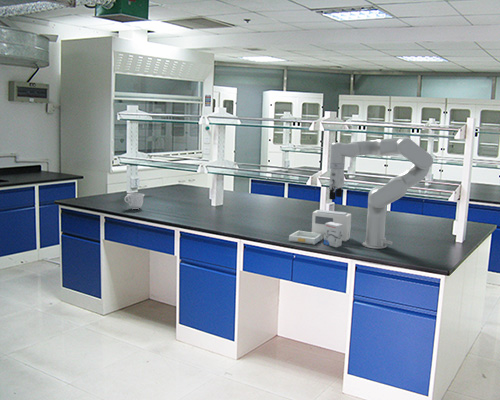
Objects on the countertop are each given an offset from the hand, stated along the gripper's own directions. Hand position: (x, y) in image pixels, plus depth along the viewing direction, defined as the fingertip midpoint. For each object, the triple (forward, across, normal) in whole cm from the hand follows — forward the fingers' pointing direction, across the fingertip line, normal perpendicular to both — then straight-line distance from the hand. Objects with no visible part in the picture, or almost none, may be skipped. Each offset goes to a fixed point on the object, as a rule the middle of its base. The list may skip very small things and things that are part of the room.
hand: (335, 198), depth 278 cm
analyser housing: (+25, +11, +6) cm, 27 cm away
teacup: (+25, +6, +148) cm, 150 cm away
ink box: (+25, -4, -1) cm, 25 cm away
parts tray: (+25, -3, +15) cm, 29 cm away
